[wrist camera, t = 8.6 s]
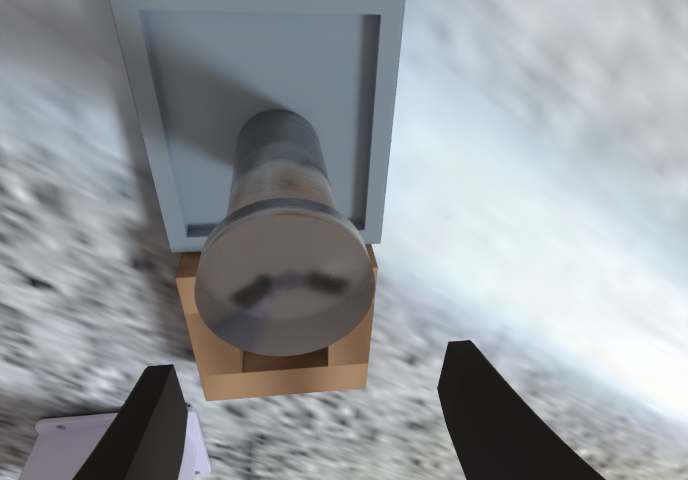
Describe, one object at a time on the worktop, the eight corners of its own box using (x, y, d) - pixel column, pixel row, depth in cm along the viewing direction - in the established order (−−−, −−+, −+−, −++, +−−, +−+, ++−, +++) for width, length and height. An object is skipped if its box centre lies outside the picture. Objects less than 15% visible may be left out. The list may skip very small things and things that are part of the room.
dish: (176, 237, 21) (171, 252, 20) (115, -23, 15) (104, -20, 14) (375, 229, 22) (380, 243, 21) (398, -16, 16) (406, -12, 15)
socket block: (211, 366, 26) (206, 401, 24) (184, 245, 21) (175, 278, 19) (359, 355, 27) (365, 387, 25) (369, 237, 22) (378, 267, 20)
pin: (229, 198, 19) (206, 362, 12) (217, 95, 17) (179, 223, 9) (330, 195, 20) (368, 349, 12) (333, 96, 17) (383, 216, 10)
